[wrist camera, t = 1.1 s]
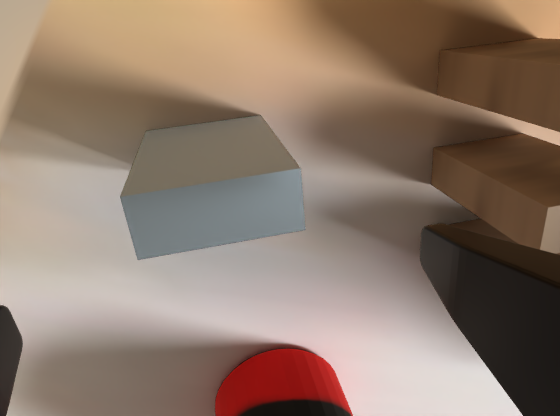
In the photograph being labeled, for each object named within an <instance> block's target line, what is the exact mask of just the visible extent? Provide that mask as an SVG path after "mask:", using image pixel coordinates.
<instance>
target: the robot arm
mask: <svg viewBox="0 0 560 416" xmlns="http://www.w3.org/2000/svg"><path fill="white" fill-rule="evenodd" d="M420 261H421V265H422V267H423V269H424V271H425V273H426V274H427V276H428V278H429V280H430V281H431V283H432V285H433V287H434V288H435V290H436V292H437V294H438V295H439V297H440V299H441V301H442V302H443V304H444V306H445V307H446V309H447V311H448V312H449V314H450V316H451V317H452V319H453V320H454V322H455V323H456V325H457V326H458V328H459V329H460V330H461V332H462V333H463V334H464V336H465V337H466V338H467V340H468V341H469V343H470V344H471V345H472V347H473V348H474V349H475V351H476V352H477V353H478V355H479V356H480V358H481V359H482V360H483V362H484V363H485V364H486V366H487V367H488V368H489V370H490V371H491V373H492V374H493V375H494V377H495V378H496V379H497V381H498V382H499V383H500V385H501V386H502V387H503V389H504V390H505V392H506V393H507V394H508V396H509V397H510V398H511V400H512V401H513V402H514V404H515V405H516V407H517V408H518V409H519V411H520V412H521V413H522V415H523V416H560V255H559V254H555V253H551V252H548V251H544V250H540V249H536V248H533V247H529V246H525V245H521V244H518V243H514V242H510V241H506V240H502V239H499V238H495V237H491V236H487V235H484V234H480V233H476V232H472V231H468V230H465V229H461V228H457V227H453V226H450V225H446V224H442V223H438V224H433V225H427V226H425V227H424V228H423V229H422V232H421V247H420ZM22 346H23V342H22V336H21V334H20V332H19V330H18V327H17V325H16V323H15V321H14V319H13V317H12V315H11V312H10V311H9V309H8V308H7V307H6V306H3V305H0V416H6V414H7V410H8V407H9V403H10V398H11V394H12V390H13V386H14V381H15V377H16V373H17V369H18V364H19V360H20V356H21V352H22Z"/></svg>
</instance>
